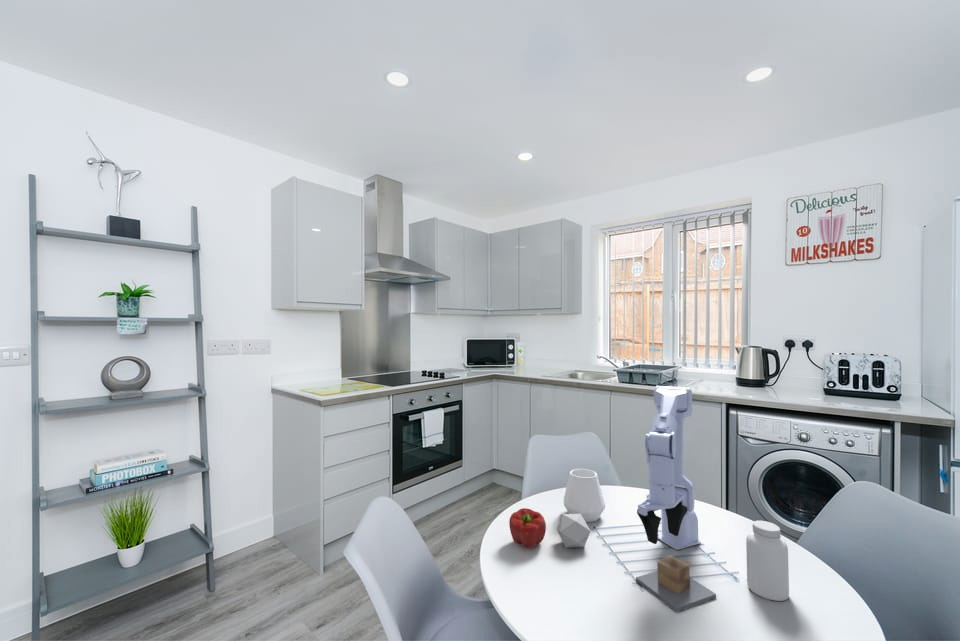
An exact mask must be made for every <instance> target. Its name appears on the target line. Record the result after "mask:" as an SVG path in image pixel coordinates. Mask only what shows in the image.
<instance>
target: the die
mask: <svg viewBox="0 0 960 641" xmlns="http://www.w3.org/2000/svg"><path fill="white" fill-rule="evenodd" d="M556 531H557V534H558V535H559V538H560V540H561V541H562V543H563V545H564V547H565V548H566V549H569V548H570V549H571V548H573V549H574V548H585V546H586V544H587V541H588V539H589V536H590V534H591V530H590V528H589V526H588V524H587V522H585V520H584V519H583V517H582V515H581V514H569V513H562V515H561V518H560V520H559V523H558V525H557V528H556Z"/></svg>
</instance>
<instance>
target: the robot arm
mask: <svg viewBox="0 0 960 641" xmlns="http://www.w3.org/2000/svg"><path fill="white" fill-rule="evenodd" d="M653 402H654V405H655V407H656V410H657V412H658V414H656V415H655V416H654V418H653V421H652V425H651V429H650V431H649V433H646V434H645V439H644V448H645V453H646V454H645V455H646V462H647V463H648V490H649V492H648V493H649V494H646V499H645V500H644V501H643V502H641V503H639V504H638V505H637V510H636V513H637V516H638V517H639V519H640V521H641V523H642V526H643V528H644V530H645V534H646V538H647V541H648V542H650V543H652V544H653V545H656V544H658V540H659V541H661V542H663V543H664V544H666V545H667V546H669V547H672V548H673V549H675V550H679V551H680V550H682V549H686V548H688V547H689V548H690V547H693V546H695V545H699V544H701V543H702V541H701V540H699V520H698V515H697V514H696V512H695V511H694V510H695V492H694V489H695V488H694V485H693V482H692V481H691V480H690V479H688V478H687V476H685V475H684V424H685V419H686V418H687V417H691V416H692V412H693V391H692V388H691V387H689V386H687V387H682V386H668V385H667V386H665V385H656V386H655V387H654V390H653ZM660 510H661V514H660V515H661V516H658V515H656V513H655V512H657V511H660ZM660 524H661V533H659V528H660V527H659V526H660Z"/></svg>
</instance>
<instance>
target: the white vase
mask: <svg viewBox="0 0 960 641" xmlns="http://www.w3.org/2000/svg"><path fill="white" fill-rule="evenodd" d="M563 506H564V508H565V509H566V511H567V512H568V513H567V514H581V515H582V517H583V519H584V520H585V522H586V523H593V522H595V521H596V522H597V520H599V518H600V517H601V515H602V514H603V513H604V510H605V509H606V502H605V499H604V496H603V492H602V489H601V484H600V481H599V476H598V472H596V471H593V470H592V469H587V468H574V469H572V470H570V471H569V474H568V479H567V484H566V487H565V492H564V495H563Z"/></svg>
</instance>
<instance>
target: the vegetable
mask: <svg viewBox="0 0 960 641" xmlns="http://www.w3.org/2000/svg"><path fill="white" fill-rule="evenodd" d="M508 522H509V524H508V525H509V530H510V535H511V538H512V540H513V542H514V543H515V544H517V545H518V546H519V545H520V546H523V547H524V548H525V549H532V548H535V546H537V545H538V546H539V545H540V544H541V543H542V542H543V540H544V539H545V534H546V531H547V530H546V529H547V523H546V520H545V518H544V516H543V515H542V514H541V513H540V512H538V511H535V510H533V509H530V508H525V507H522V508H520V509H518V510H516V511H515V512H513V513H512V514H511V515H510V517H509V520H508Z"/></svg>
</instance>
